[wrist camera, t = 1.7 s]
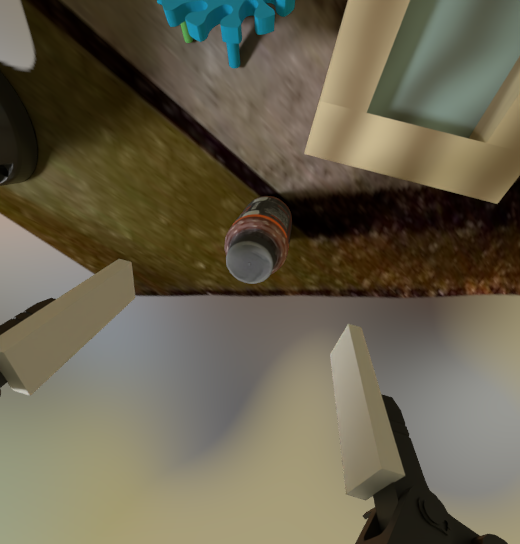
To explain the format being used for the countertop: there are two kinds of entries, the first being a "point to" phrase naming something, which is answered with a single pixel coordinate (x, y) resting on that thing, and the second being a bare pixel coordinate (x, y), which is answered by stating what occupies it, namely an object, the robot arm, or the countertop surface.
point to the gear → (223, 19)
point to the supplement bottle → (259, 240)
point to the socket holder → (425, 94)
